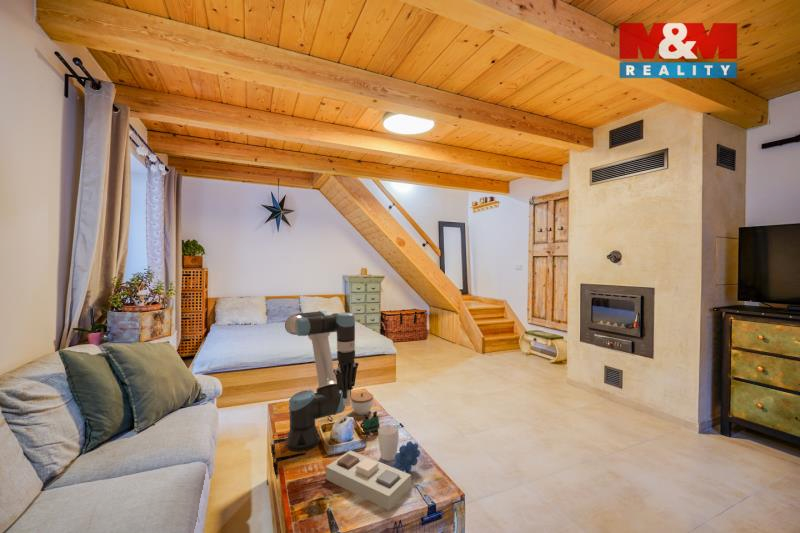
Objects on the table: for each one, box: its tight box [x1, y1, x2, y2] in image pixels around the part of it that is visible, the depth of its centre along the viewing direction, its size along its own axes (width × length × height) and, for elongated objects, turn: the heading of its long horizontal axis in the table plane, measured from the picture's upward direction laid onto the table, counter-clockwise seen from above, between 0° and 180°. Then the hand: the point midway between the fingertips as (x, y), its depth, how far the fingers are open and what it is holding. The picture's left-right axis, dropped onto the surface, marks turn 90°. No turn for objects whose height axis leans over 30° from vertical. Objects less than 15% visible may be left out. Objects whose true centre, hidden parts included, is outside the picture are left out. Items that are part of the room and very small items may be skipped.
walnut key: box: [338, 454, 359, 470], centre depth 138 cm, size 6×6×4 cm
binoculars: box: [359, 411, 381, 438], centre depth 172 cm, size 9×11×10 cm
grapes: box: [393, 441, 421, 473], centre depth 140 cm, size 12×7×12 cm, turn 115°
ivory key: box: [356, 458, 378, 479], centre depth 133 cm, size 6×6×4 cm
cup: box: [377, 424, 400, 462], centre depth 150 cm, size 9×9×12 cm
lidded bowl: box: [350, 391, 374, 416], centre depth 195 cm, size 13×13×11 cm
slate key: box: [377, 470, 400, 488], centre depth 127 cm, size 6×6×4 cm
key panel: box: [325, 450, 412, 511], centre depth 133 cm, size 31×14×5 cm, turn 55°
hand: (346, 404), depth 146 cm, fingers closed
